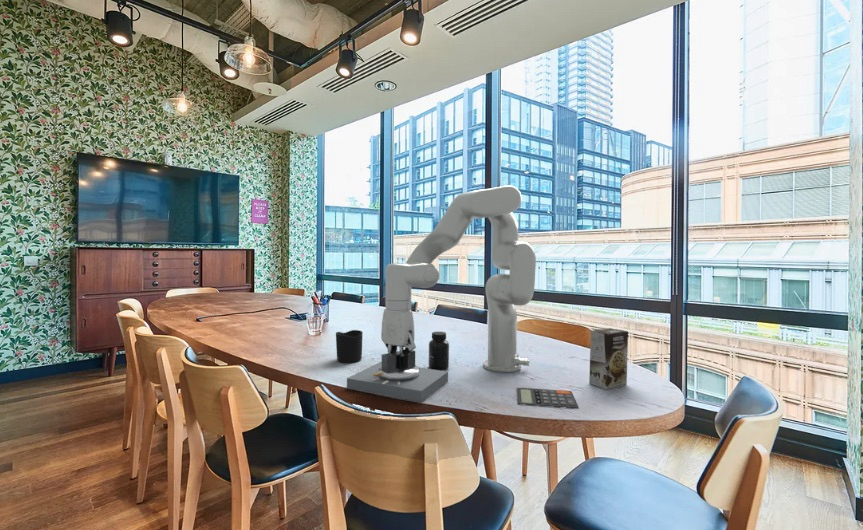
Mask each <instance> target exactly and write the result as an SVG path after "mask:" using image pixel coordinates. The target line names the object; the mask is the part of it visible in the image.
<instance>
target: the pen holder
mask: <svg viewBox="0 0 863 530" xmlns="http://www.w3.org/2000/svg"><path fill="white" fill-rule="evenodd" d="M335 343H336V344H335V347H336V348H335V349H336V361H337V362H339V363H342V364H354V363H359V362H360V361H361V360H362V357H363V331H362V330H358V329H352V330H349V331H347V332H341V331H337V332H335Z"/></svg>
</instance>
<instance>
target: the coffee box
mask: <svg viewBox="0 0 863 530" xmlns="http://www.w3.org/2000/svg"><path fill="white" fill-rule="evenodd" d="M589 344H590V347H589V349H590V350H589V381H588V383H589V384H590V385H594V386H596V387H599V388H601V389H604V390H610V389H615V388H619V387H623V386H627V385H628V384H627V383H628V349H629V345H628V344H629V331H627V330H623V329H618V328H610V327H609V328H600V329H593V330H590V343H589Z"/></svg>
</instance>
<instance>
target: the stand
mask: <svg viewBox="0 0 863 530" xmlns="http://www.w3.org/2000/svg"><path fill="white" fill-rule="evenodd" d="M381 366H382V361H380V362H378V363H376V364H373V365H371V366H369V367H367V368H365V369H362V370H361V371H359V372H357V373H355V374H353V375H351V376H348V377H346V389H348V390H353V391H357V392H358V391H359V392H365V393H370V394H374V393H376V394H375V395H379V394H381V396H385V395H387V396H386V397H390V396H391V398H396V397H397V398H396V399H401V400H406V399H407V400H408V401H412V400H413V402H418V403H423V402H424V401H425V400H426V399H427V398H429V397H430V396H432V395H433V394H434V393H436V390H437V391H438V390H439V389H440V388H442V387H443V386H445V385H446V384H447V383H448V382H449V371H446V370H443V371H440V370H433V369H430V368H425V367H419V375H418V376H417V377H415V378H413V379H409V380H401V381H393V380H386V379H383V378H380V377H379V376H373V374H377V373H378V369H379V367H381Z"/></svg>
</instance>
